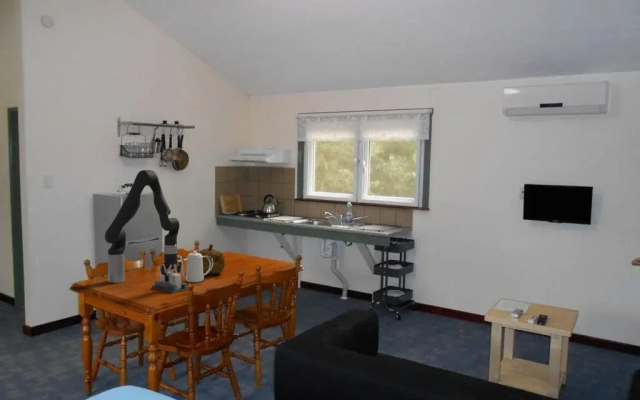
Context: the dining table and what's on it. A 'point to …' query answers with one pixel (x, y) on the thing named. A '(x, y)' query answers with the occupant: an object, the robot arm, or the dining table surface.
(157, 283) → the bottom track
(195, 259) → the coffeepot
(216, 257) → the decorative pumpkin
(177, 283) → the white rectangular block
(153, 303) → the dining table surface
